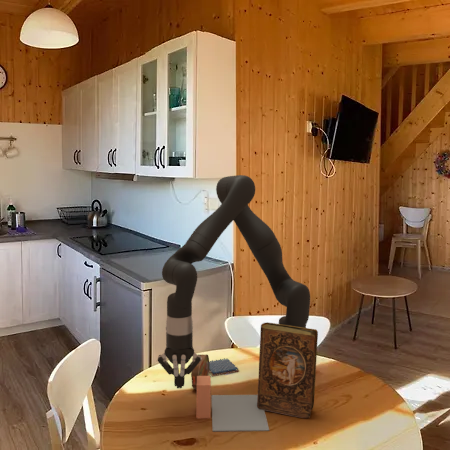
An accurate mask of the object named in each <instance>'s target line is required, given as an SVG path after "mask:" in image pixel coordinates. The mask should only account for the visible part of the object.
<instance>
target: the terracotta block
mask: <svg viewBox="0 0 450 450" xmlns="http://www.w3.org/2000/svg"><path fill="white" fill-rule="evenodd" d="M211 378H212V376H211V375H208V376H197V389H196V413H195V414H196V416H195V417H196V419H211V411H212V399H211V395H212V394H211V392H212V390H211V388H212V386H211V385H212V381H211Z"/></svg>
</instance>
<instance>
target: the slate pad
mask: <svg viewBox="0 0 450 450" xmlns="http://www.w3.org/2000/svg"><path fill="white" fill-rule="evenodd" d="M257 397H258V394H211V422H212V423H211V424H212V425H211V426H212V432H270V428H269V424H268V420H267V416H266V410H261V409H258V408H257Z"/></svg>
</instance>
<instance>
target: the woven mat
mask: <svg viewBox="0 0 450 450" xmlns="http://www.w3.org/2000/svg"><path fill="white" fill-rule="evenodd" d="M239 372H240V370H239V368H238V366H236V364H234V363H233V361H231V360H230V359H229V358H223V359H221V358H220V359H215V360H213V359H212V360H209V374H210V375H209V376H211V377H218V376H225V375H228V374H236V373H239Z"/></svg>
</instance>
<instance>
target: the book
mask: <svg viewBox="0 0 450 450" xmlns="http://www.w3.org/2000/svg"><path fill="white" fill-rule="evenodd" d="M259 333H260V337H259V338H260V339H259V357H258V358H259V360H258V379H257V381H258V382H257V395H258V397H257V408H258V409H261V410H264V411H265V412H272V413H276V414H282V415H286V416H290V417H296V418H302V419H310V418H311V415H312V410H313V408H314V405H315V388H316V372H317V358H318V356H317V354H318V338H319V337H318V336H319V331H318V330H317V329H314V328H307V327H306V328H302V327H296V326H289V325H282V324H279V323H275V322H263V323H261V324H260V332H259Z"/></svg>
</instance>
